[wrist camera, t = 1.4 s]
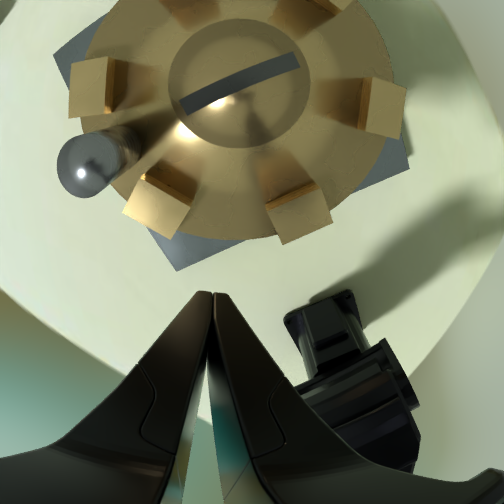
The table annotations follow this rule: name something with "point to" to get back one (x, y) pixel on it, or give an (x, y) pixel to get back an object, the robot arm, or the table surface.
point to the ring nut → (231, 113)
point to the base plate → (198, 248)
